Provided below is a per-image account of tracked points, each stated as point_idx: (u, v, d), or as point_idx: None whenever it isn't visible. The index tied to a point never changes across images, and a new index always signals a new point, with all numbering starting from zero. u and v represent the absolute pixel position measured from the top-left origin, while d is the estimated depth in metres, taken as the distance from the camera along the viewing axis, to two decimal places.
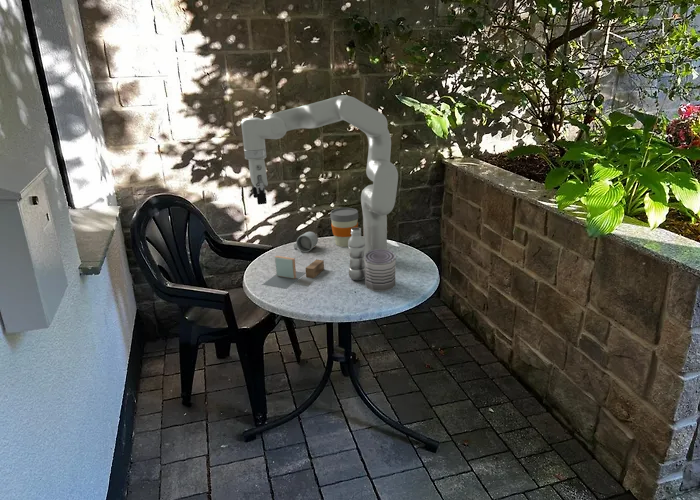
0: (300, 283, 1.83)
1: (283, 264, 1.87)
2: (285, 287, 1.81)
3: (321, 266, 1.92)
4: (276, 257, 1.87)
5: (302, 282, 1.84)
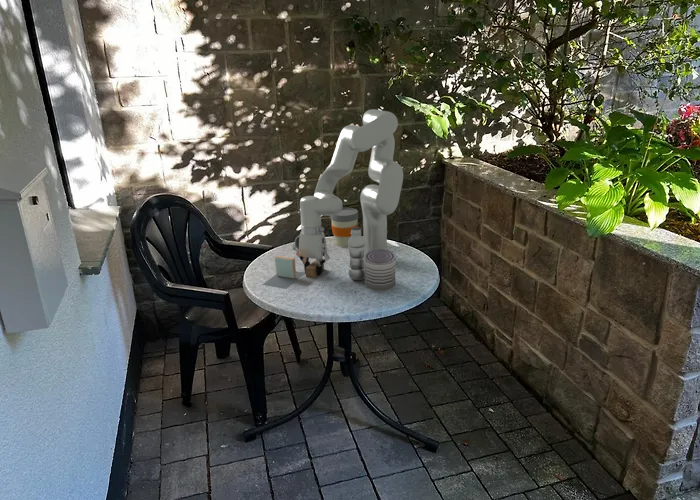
0: (300, 283, 1.83)
1: (283, 264, 1.87)
2: (285, 287, 1.81)
3: None
4: (276, 257, 1.87)
5: (302, 282, 1.84)
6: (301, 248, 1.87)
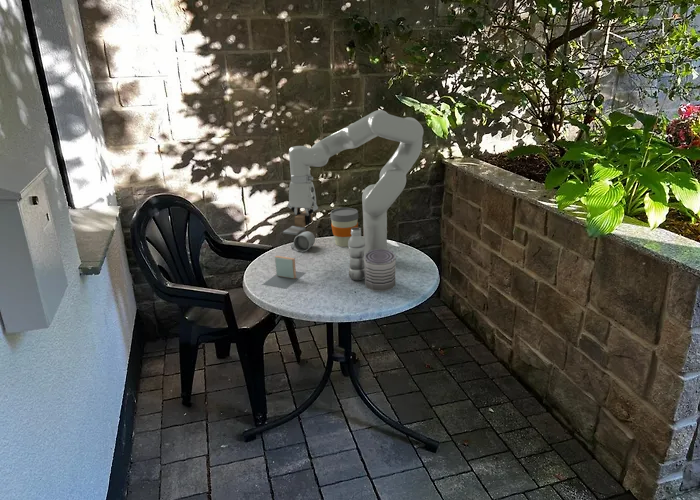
0: (289, 231, 1.88)
1: (283, 264, 1.87)
2: (285, 287, 1.81)
3: None
4: (276, 257, 1.87)
5: (291, 230, 1.89)
6: (291, 198, 1.92)
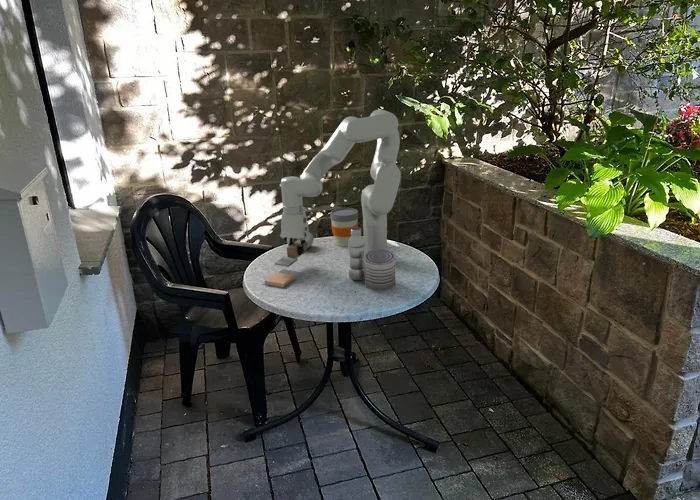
0: (281, 262, 1.86)
1: None
2: (285, 287, 1.81)
3: None
4: (266, 283, 1.83)
5: (283, 261, 1.87)
6: (283, 228, 1.90)
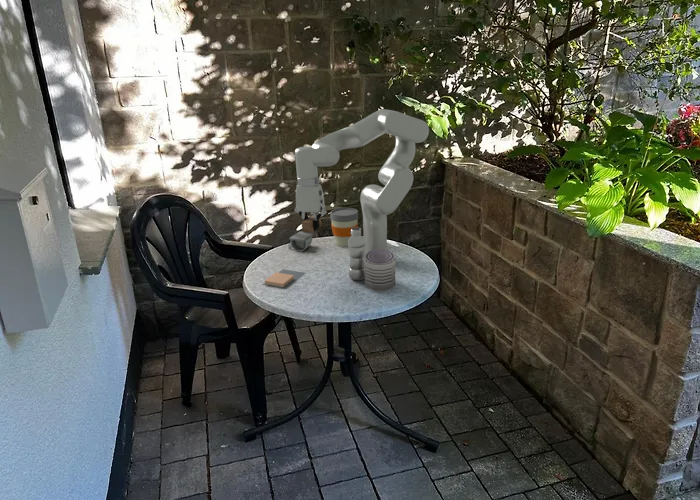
0: (296, 237, 1.77)
1: None
2: (285, 287, 1.81)
3: None
4: (266, 283, 1.83)
5: (298, 236, 1.78)
6: (298, 202, 1.81)
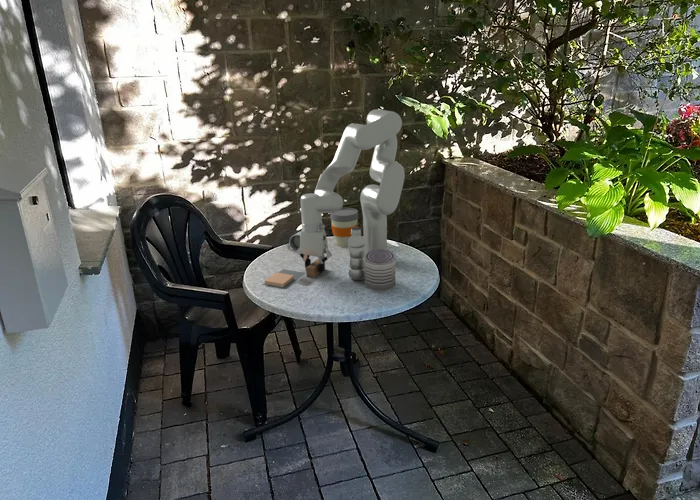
0: (300, 283, 1.84)
1: None
2: (285, 287, 1.81)
3: None
4: (266, 283, 1.83)
5: (302, 282, 1.84)
6: (302, 246, 1.87)
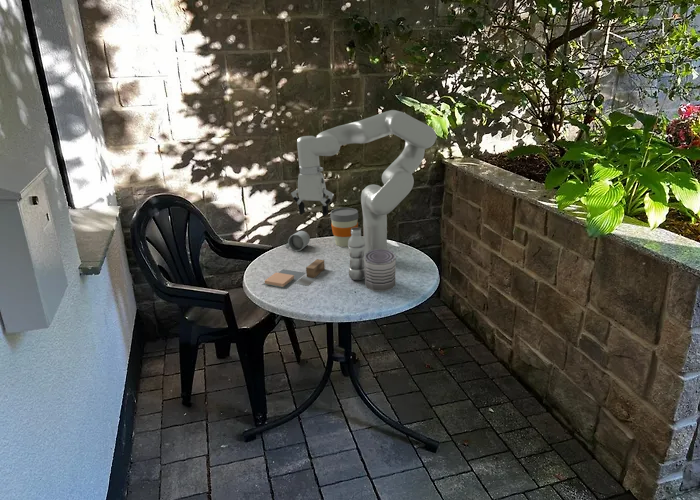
0: (300, 283, 1.84)
1: None
2: (285, 287, 1.81)
3: (322, 265, 1.93)
4: (266, 283, 1.83)
5: (302, 282, 1.84)
6: (300, 191, 1.85)
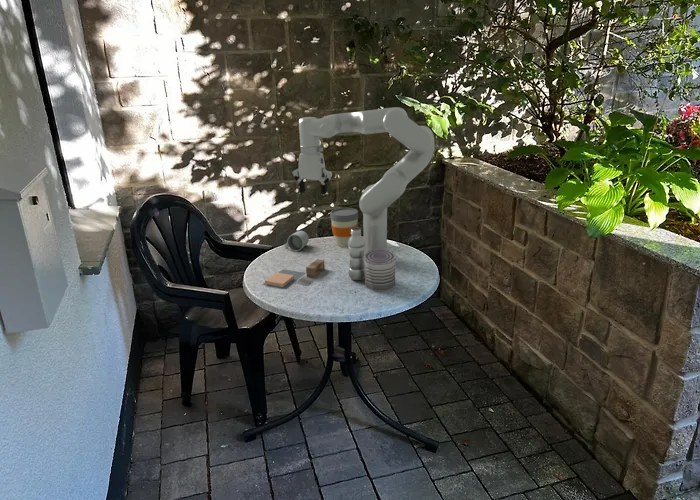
0: (300, 283, 1.84)
1: None
2: (285, 287, 1.81)
3: (322, 265, 1.93)
4: (266, 283, 1.83)
5: (302, 282, 1.84)
6: (301, 170, 1.93)
